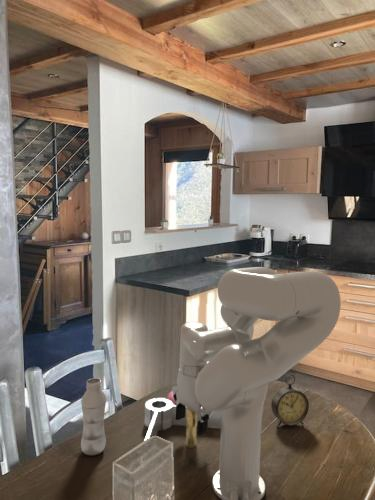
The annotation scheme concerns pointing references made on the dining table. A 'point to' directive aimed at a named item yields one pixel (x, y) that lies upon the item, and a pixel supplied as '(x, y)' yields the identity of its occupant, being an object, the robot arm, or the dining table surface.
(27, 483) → the dining table surface
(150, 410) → the hinge
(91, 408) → the plastic bottle
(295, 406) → the alarm clock
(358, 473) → the dining table surface
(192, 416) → the hinge pin
